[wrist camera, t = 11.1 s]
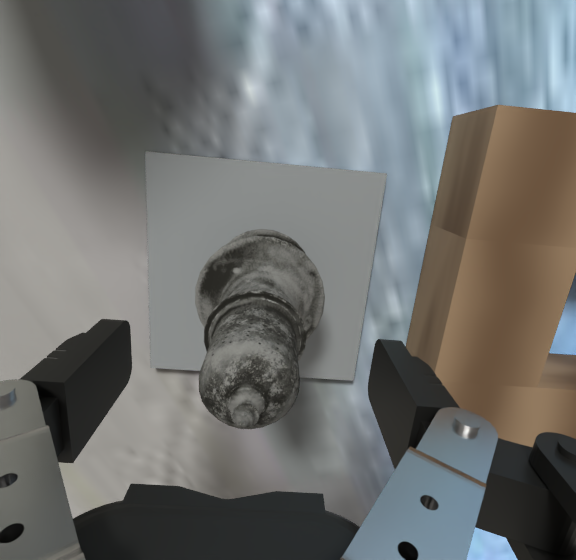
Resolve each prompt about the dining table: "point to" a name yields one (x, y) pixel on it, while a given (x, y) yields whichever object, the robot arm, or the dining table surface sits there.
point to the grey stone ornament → (256, 326)
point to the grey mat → (251, 216)
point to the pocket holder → (502, 270)
